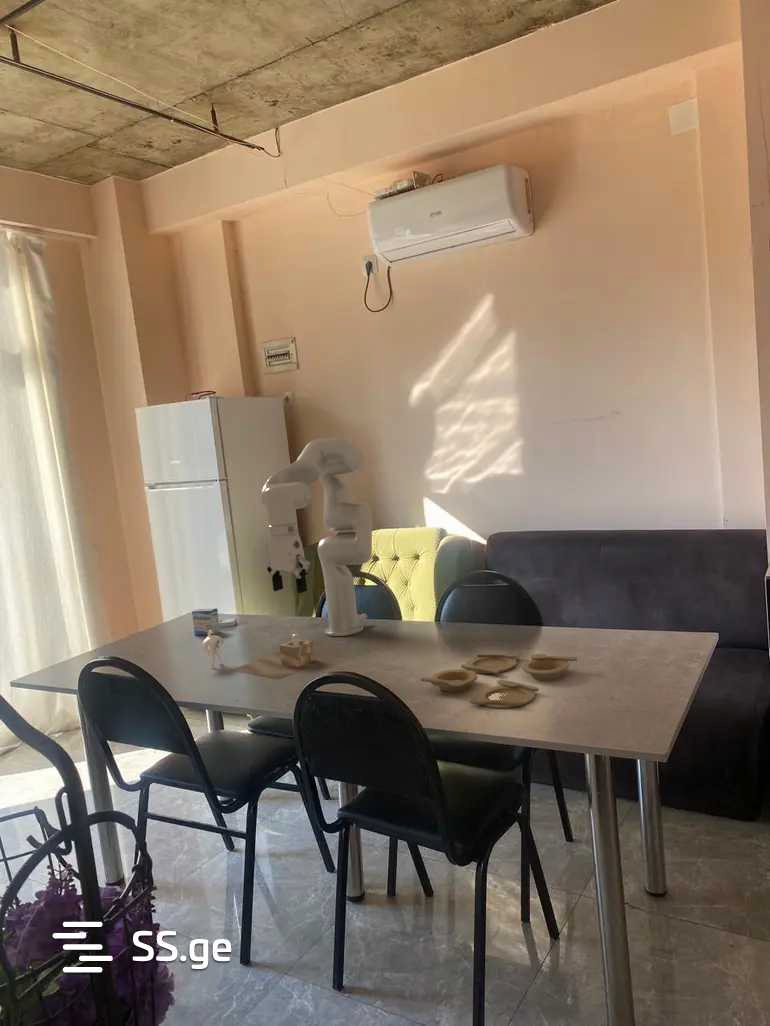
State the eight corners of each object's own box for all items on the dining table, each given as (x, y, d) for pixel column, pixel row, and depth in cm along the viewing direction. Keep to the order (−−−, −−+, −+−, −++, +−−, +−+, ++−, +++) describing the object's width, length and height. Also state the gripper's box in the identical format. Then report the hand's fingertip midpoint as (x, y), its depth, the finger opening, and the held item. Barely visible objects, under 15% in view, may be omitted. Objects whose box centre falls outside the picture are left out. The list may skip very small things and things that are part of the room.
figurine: (210, 675, 214) (204, 634, 213) (201, 673, 217) (196, 632, 215) (230, 668, 219) (225, 627, 218) (222, 666, 222) (217, 626, 221)
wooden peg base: (278, 656, 225) (275, 625, 224) (326, 664, 213) (322, 631, 212) (231, 675, 212) (226, 642, 211) (279, 684, 199) (274, 649, 198)
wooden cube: (298, 657, 217) (296, 639, 217) (314, 660, 213) (312, 641, 212) (281, 664, 212) (279, 645, 212) (298, 667, 208) (295, 647, 207)
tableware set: (485, 655, 207) (484, 641, 207) (585, 668, 188) (584, 652, 188) (407, 697, 180) (406, 681, 180) (515, 717, 162) (513, 699, 161)
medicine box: (194, 635, 263) (191, 611, 262) (200, 632, 267) (197, 608, 266) (214, 635, 261) (211, 610, 260) (220, 631, 265) (217, 607, 264)
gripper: (314, 528, 206) (321, 589, 208) (272, 528, 217) (279, 586, 219) (294, 533, 200) (302, 596, 202) (252, 532, 211) (259, 592, 213)
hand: (290, 591), depth 211 cm, fingers open, 9 cm apart
